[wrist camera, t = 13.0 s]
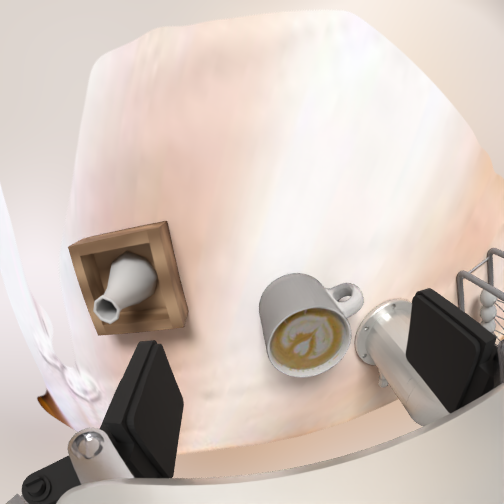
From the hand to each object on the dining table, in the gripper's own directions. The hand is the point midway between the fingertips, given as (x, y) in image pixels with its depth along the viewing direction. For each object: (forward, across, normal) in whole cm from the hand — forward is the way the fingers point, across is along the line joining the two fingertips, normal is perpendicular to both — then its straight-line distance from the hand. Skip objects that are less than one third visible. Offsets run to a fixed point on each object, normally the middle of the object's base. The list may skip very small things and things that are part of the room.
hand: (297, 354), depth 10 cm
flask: (+28, +17, +5) cm, 33 cm away
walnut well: (+28, +17, +5) cm, 33 cm away
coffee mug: (+28, -6, +13) cm, 32 cm away
